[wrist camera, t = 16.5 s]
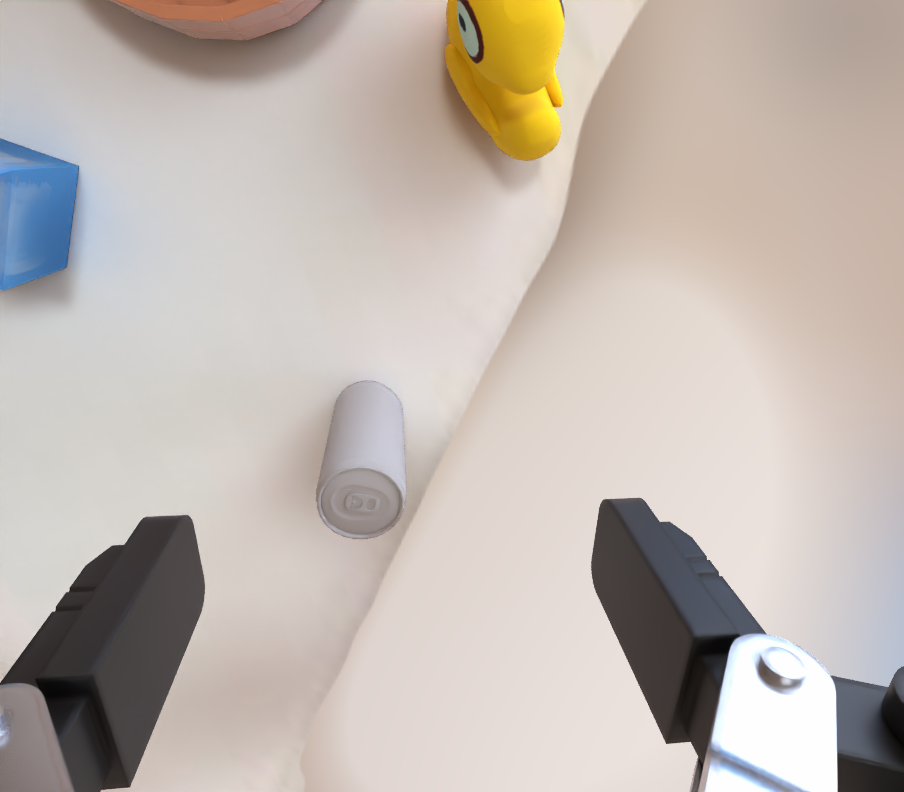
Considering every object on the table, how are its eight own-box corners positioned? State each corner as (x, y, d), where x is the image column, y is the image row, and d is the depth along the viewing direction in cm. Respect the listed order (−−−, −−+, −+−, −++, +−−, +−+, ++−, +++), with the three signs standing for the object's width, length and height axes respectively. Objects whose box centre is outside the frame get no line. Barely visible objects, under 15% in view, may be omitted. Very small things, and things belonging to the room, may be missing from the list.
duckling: (404, -34, 30) (410, -112, 21) (496, -79, 30) (542, -178, 21) (481, 174, 35) (513, 183, 26) (562, 137, 35) (623, 133, 26)
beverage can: (340, 371, 39) (321, 458, 28) (408, 383, 40) (415, 472, 29) (330, 432, 41) (308, 535, 30) (395, 442, 42) (397, 546, 31)
